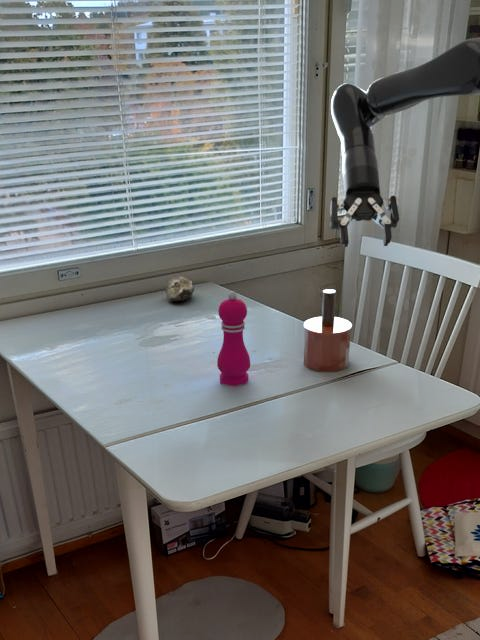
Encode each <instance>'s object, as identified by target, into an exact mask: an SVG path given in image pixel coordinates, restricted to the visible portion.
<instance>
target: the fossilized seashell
mask: <svg viewBox="0 0 480 640" xmlns="http://www.w3.org/2000/svg"><path fill="white" fill-rule="evenodd" d="M164 289H165V290H164V291H165V293H166V298H167V299H168V300H169V301H171V302H182V301H185V300H187V299H189V298H190V297H192V295H193V294H194V290H195V287H194V285H193V282H192V280H191V279H190V280H189V278H187V277H184V276H176V277H174V278H171V279H170V280H169V281H167V283H166V285H165V288H164Z"/></svg>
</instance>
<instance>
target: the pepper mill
mask: <svg viewBox="0 0 480 640" xmlns="http://www.w3.org/2000/svg"><path fill="white" fill-rule="evenodd" d="M227 297H228V298H226V299H224V300H223V301H221V302H220V304H219V305H218V309H217V310H218V311H217V313H218V317H219V318H220V320H221V322H220V325H221V326H220V328H221V330H222V333H223V338H222V339H223V340H222V344H221V348H220V351H219V353H218V356H217V361H216V366H217V369H218V370H219V371H220V372H221V373H220V374H219V383H220V385H226V386H231V387H236V386H242V385H245V384H247V383H248V382H249V373H248V371H249V369H250V368H251V357H250V354H249V352H248V349H247V347H246V345H245V341H244V333H243V332H244V330H245V329H246V326H245V325H246V322H245V321H244V320H245V319H246V317H247V316H248V308H247V305H246V303H245V301H243V300H241V299H240V298H237V297H238V295H237V293H236V291H232V290H231V291H229V292H228V294H227Z"/></svg>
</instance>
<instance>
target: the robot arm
mask: <svg viewBox="0 0 480 640" xmlns="http://www.w3.org/2000/svg"><path fill="white" fill-rule="evenodd" d="M478 95H480V37H479V36H478V37H472V38H467V39H465V40H462V41H460V42H459V43H457V44H455V45H454V46H452V47H451V48H448V49H447V50H446V51H444V52H442V53H441V54H439V55H438V56H436V57H434V58H433V59H431V60H429V61H427V62H425V63H423V64H421V65H418V66H414V67H412V68H408V69H405V70H404V69H403V70H401V71H398V72H395V73H392V74H389V75H387V76H384V77H381V78H378V79H376V80H375V81H373V82H371V84H370V85H369V86H368V88H367V91H365V90H363V89H362V88H360V87H359V86H357V85H355V84H353V83H350V82H347V83H343V84H341V85H340V86H338V87H337V88H336V89H335V91H334V92H333V95H332V97H331V102H330V111H331V117H332V121H333V123H334V127H335V129H336V132H337V135H338V137H339V140H340V143H341V144H340V145H341V157H342V161H341V162H342V164H341V177H342V184H343V185H342V186H343V197H344V199H338V198H337V197H335V196H333V197H331V202H330V204H329V220H330V221H329V227H330V229H331V230H337V231H338V232H339V242H340V245H342V246H343V248H348V246H349V243H350V242H349V230H348V229H349V228H348V226H350V224H351V223H352V222H353V220H355V221H356V222H361V221H366V222H367V221H369V222H370V221H373V222H374V223H375V224H376V225H378V226H380V227H381V229H382V231H381V232H382V243H383V247H388V245H389V244H390V243H391V241H392V237H393V236H392V235H393V234H392V229H393V228H394V229H395V228H396V227H397V225H398V223H399V221H400V214H399V208H398V201H397V197H396V196H395V195H391V196H390V198H383V197H382V195H381V187H380V176H379V165H378V164H379V163H378V159H377V155H376V145H375V135H374V133H373V130H372V127H373V126H375V125H376V124H377V123H378V122H380V121H382V120H383V119H384V118H385V117H388V116H391V115H393V114H396V113H397V114H398V113H399V112H403V111H406V110H408V109H410V108H411V109H412V108H413V107H415V106H417V105H419V104H421V103H423V102H426V101H428V100H431V99H435V98H436V99H437V98H444V97H461V96H462V97H472V96H478ZM383 206H384V207H385V210H386V211H388V215H389V217H388V215H387V214H386V212H385V211H384V209H383V208H382V207H383ZM341 208H343V209H344V211H346V213H345V215H344V216H343V218H342V219H341V220H339V219H338V216H339V215H338V212H340V210H341Z"/></svg>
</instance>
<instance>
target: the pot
mask: <svg viewBox="0 0 480 640" xmlns="http://www.w3.org/2000/svg"><path fill="white" fill-rule="evenodd" d="M351 331H352V329H351V330H350V331H349V332H347V333H345V334H342V335H335V336H322V335H316V334H312V333H309V332H307V331H306V330H305V329H304V342H303V365H304V367H306V368H307V369H309V370H312V371H315V372H321V373H333V372H339V371H342V370H345V369H346V368H347V367H348V365H349V360H350V348H351V347H350V346H351V333H352V332H351Z"/></svg>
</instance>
